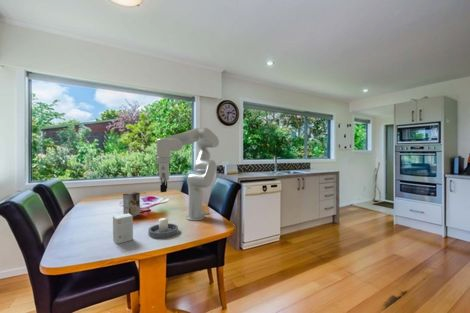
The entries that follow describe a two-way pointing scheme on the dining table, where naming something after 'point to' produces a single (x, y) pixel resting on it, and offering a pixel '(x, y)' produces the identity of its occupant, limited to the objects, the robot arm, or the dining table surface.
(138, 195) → the coffee box
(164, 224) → the white egg
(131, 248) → the dining table surface
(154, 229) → the round bowl
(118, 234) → the small box
